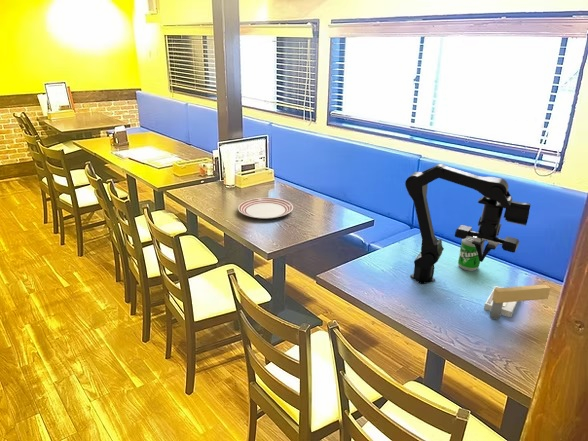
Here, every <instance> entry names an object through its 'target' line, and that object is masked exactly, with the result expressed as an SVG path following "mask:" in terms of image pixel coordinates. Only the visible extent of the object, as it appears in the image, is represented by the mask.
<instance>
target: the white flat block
mask: <svg viewBox="0 0 588 441" xmlns="http://www.w3.org/2000/svg"><path fill="white" fill-rule="evenodd" d="M493 287H494V288H492V289H493V290H492V291H491V292H490V294H489V296H488V297H487V299H486V301H485V303H484V306H483V310H486V311H489V312H491V309H492V304H493V300H492V298H493V294H494V289H495V288H503V287H501V286H497V285H495V286H493ZM518 303H519V301H517V302H505V303H503V306H502V310H501V315H502V316H504V317H508V318H512V315H513V314H514V312H515V309H516V307H517V304H518ZM501 315H500V316H501Z"/></svg>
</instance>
